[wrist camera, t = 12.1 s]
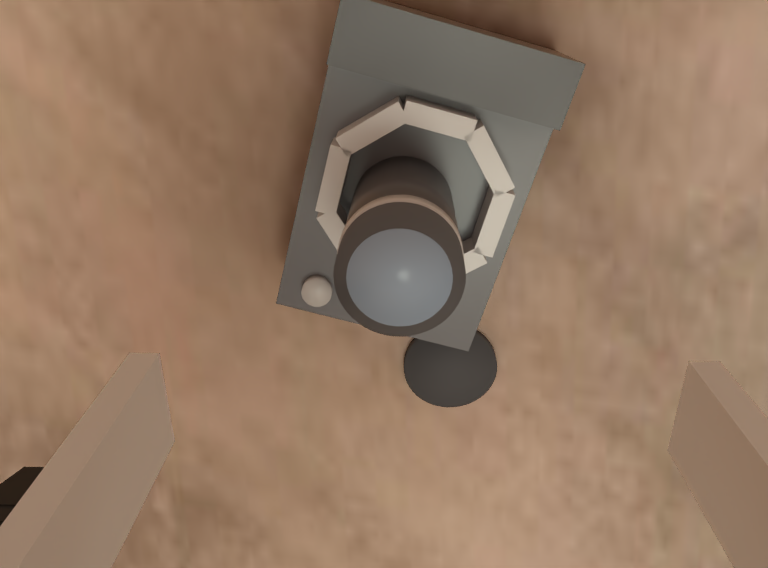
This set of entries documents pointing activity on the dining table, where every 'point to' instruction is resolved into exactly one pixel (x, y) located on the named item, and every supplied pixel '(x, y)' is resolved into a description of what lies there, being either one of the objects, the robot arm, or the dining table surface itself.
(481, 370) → the lens cap
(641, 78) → the dining table surface
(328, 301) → the camera body
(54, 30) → the dining table surface
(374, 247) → the lens
